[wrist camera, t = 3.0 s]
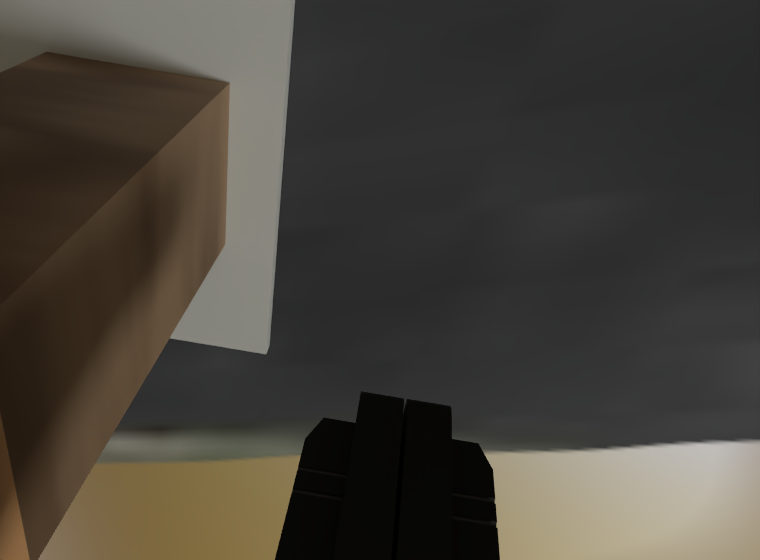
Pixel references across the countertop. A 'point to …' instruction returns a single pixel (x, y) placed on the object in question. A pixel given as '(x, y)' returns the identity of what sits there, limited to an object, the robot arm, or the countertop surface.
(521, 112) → the countertop surface
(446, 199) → the countertop surface
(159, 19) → the grey mat
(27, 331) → the walnut block
